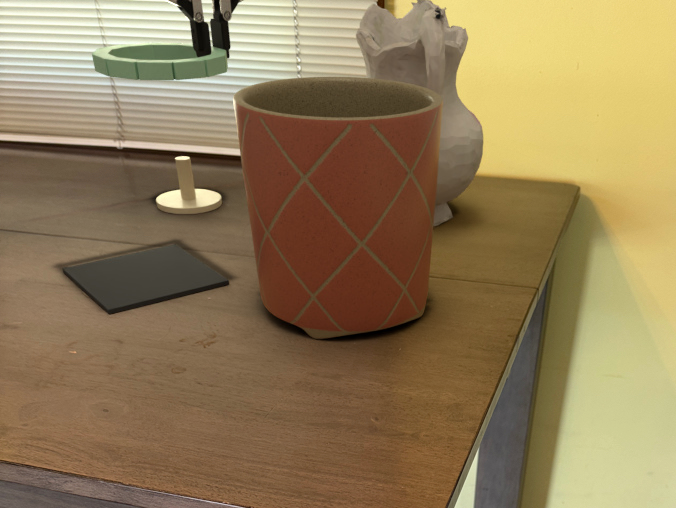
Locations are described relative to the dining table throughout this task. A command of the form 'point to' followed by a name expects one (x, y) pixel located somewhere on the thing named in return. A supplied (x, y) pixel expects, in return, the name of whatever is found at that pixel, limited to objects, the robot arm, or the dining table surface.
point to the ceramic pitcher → (428, 84)
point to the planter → (341, 198)
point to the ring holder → (188, 193)
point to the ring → (158, 61)
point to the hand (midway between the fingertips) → (213, 56)
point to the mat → (144, 278)
